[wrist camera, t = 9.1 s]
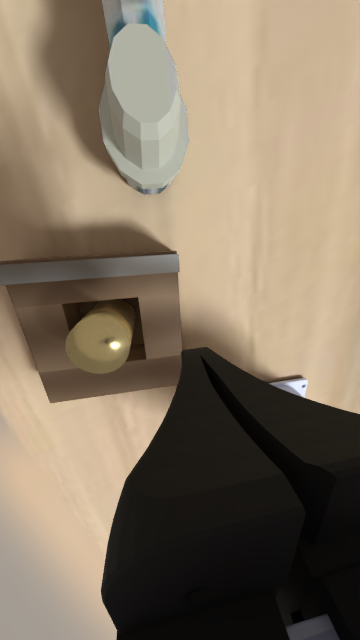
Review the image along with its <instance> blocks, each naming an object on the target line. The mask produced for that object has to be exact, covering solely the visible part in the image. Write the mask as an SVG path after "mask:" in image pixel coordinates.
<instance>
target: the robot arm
mask: <svg viewBox="0 0 360 640" xmlns="http://www.w3.org/2000/svg"><path fill="white" fill-rule="evenodd" d="M181 360H182V367H181V374H180V378H179V382H178V385H177V389H176V392H175V395H174V397H173V400H172V402H171V405H170V407H169V409H168V411H167V414H166V416H165V418H164V420H163V422H162V424H161V426H160V427H159V429H158V431H157V433H156V434H155V436H154V438H153V439H152V441H151V443H150V445H149V446H148V448H147V449H146V451H145V452H144V454H143V455H142V457H141V458H140V460H139V461H138V463H137V464H136V465H135V467H134V468H133V470H132V471H131V473H130V474H129V476H128V477H127V479H126V481H125V484H124V487H123V490H122V493H121V496H120V499H119V502H118V505H117V509H116V512H115V515H114V519H113V523H112V527H111V532H110V536H109V541H108V546H107V553H106V559H105V566H104V573H103V580H102V587H101V595H102V600H103V603H104V605H105V607H106V609H107V611H108V613H109V615H110V617H111V619H112V621H113V623H114V625H115V627H116V629H117V640H360V414H357V413H353V412H349V411H345V410H341V409H338V408H335V407H331V406H328V405H325V404H321V403H318V402H315V401H312V400H309V399H306V398H304V397H305V392H306V388H307V383H308V381H307V379H305V378H299V379H292V380H286V381H279V382H273V383H267V382H264V381H262V380H260V379H258V378H256V377H254V376H252V375H250V374H249V373H247V372H245V371H243V370H241V369H240V368H238V367H236V366H235V365H233V364H231V363H230V362H228V361H227V360H225V359H224V358H222V357H221V356H219V355H218V354H216V353H215V352H213V351H212V350H211V349H209V348H207V347H204V348H196V349H189V350H183V351H182V352H181Z"/></svg>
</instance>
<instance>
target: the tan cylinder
mask: <svg viewBox="0 0 360 640" xmlns="http://www.w3.org/2000/svg"><path fill="white" fill-rule="evenodd" d="M134 325H135V313H134V310H133V308H132V307H131V306H130V305H129V304H128V303H127V302H126V301H124V300H122V299H112V300H100V301H99V302H98V303H97V304H96V305H95V306H94V307H93V308H92V309H91V310H90V311H89V312H88V313H87V314H86V315H85V316H84V317H83V318H82V319H81V320H80V321H79V322H78V323H77V325H76V326H75V327H74V328H73V329H72V330H71V331H70V332H69V334H68V336H67V339H66V352H67V355H68V357H69V358H70V360H71V361H72V362H73V363H74V364H75V365H76V366H77V367H79V368H80V369H82V370H84V371H87V372H90V373H96V374H103V373H109V372H112V371H114V370H116V369H118V368H119V367H121V366H122V365H123V364H124V363H125V361H126V360H127V358H128V355H129V351H130V346H131V340H132V335H133V330H134Z"/></svg>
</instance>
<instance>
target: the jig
mask: <svg viewBox="0 0 360 640" xmlns="http://www.w3.org/2000/svg"><path fill="white" fill-rule="evenodd" d="M178 272H180V271H179V254H177V251H156V252H139V253H122V254H106V255H89V256H73V257H56V258H39V259H23V260H12V261H1V262H0V285H6V287H7V290H8V292H9V295H10V298H11V300H12V303H13V306H14V308H15V311H16V314H17V316H18V319H19V322H20V324H21V327H22V330H23V332H24V335H25V338H26V340H27V343H28V346H29V348H30V351H31V353H32V356H33V359H34V361H35V364H36V367H37V369H38V372H39V375H40V377H41V380H42V383H43V385H44V388H45V391H46V393H47V396H48V399H49V401H50V403H55V402H62V401H69V400H76V399H83V398H90V397H97V396H104V395H110V394H117V393H124V392H131V391H138V390H145V389H152V388H159V387H166V386H172V385H178V382H179V378H180V374H181V367H182V360H181V352H182V339H181V321H180V304H179V286H178ZM135 297H138V300H139V307H140V315H141V322H142V329H143V337H144V344H140V345H131V346H130V351H129V355H128V358H127V360H126V361H125V363H124V364H123V365H122V366H121V367H119V368H118V369H116V370H114V371H112V372H109V373H103V374H96V373H90V372H87V371H84V370H82V369H80V368H79V367H77V366H76V365H75V364H74V363H73V362H72V361H71V360H70V358H69V357H68V355H67V352H66V339H67V336H68V334H69V332H70V331H71V330H72V329H73V328H74V327H75V326H76V325H77V323H78V322H79V321H80V320H81V319H82V318H81V314H80V310H79V306H78V302H89V301H100V300H112V299H123V298H135Z"/></svg>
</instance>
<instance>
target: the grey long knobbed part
mask: <svg viewBox="0 0 360 640" xmlns="http://www.w3.org/2000/svg"><path fill="white" fill-rule="evenodd" d="M102 4H103V10H104V16H105V22H106V28H107V34H108V40H109V46H110V55H109V59H108V63H107V67H106V72H105V83H104V87H103V92H102V96H101V100H100V104H99V108H98V110H99V117H100V123H101V129H102V135H103V141H104V145H105V148H106V150H107V152H108V154H109V155H110V157H111V159H112V160H113V162H114V164H115V165H116V167H117V169H118V170H119V172H120V174H121V176H123V177H124V178H126V180H127V182H128V184H129V185H130V186H132V187H133V188H135V189H136V190H138V191H139V192H141V193H143V194H158V193H161V192H162V191H163V190H164V189H165V188H166V187H167V186H168V185H169V184H170V183H171V182H172V180H173V178H174V177H175V176H176V175H177V174H179V172H180V169H181V165H182V162H183V159H184V156H185V153H186V150H187V146H188V143H189V134H188V121H187V109H186V106H185V104H184V102H183V100H182V98H181V95H180V90H179V78H178V73H177V69H176V66H175V63H174V60H173V58H172V56H171V54H170V52H169V49H168V47H167V45H166V34H165V19H164V4H163V0H102Z"/></svg>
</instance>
